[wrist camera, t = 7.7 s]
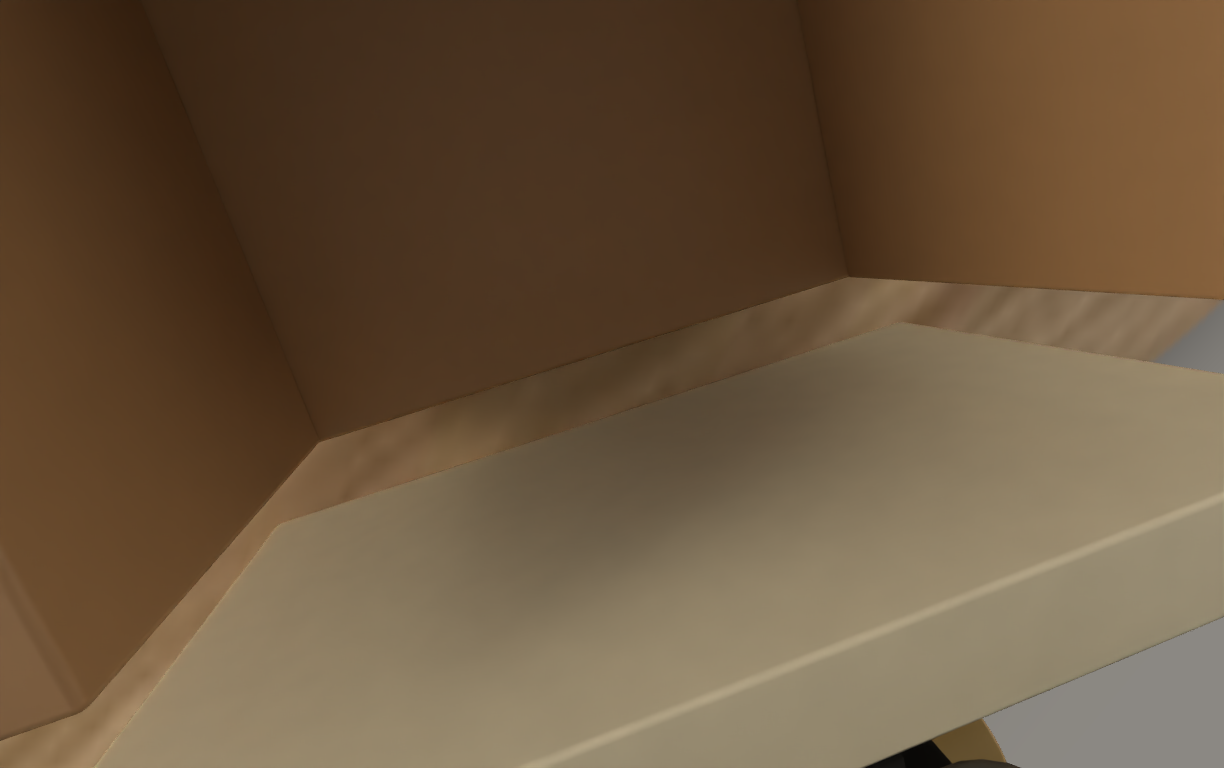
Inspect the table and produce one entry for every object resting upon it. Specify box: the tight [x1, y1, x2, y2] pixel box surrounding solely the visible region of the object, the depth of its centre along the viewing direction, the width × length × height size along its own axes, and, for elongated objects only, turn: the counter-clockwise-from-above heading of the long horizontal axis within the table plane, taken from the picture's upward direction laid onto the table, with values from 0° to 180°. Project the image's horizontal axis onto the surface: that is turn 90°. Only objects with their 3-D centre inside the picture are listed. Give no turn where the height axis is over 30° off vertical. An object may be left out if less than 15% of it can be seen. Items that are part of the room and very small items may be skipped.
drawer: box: [0, 0, 1224, 768], centre depth 8 cm, size 21×13×8 cm, turn 16°
